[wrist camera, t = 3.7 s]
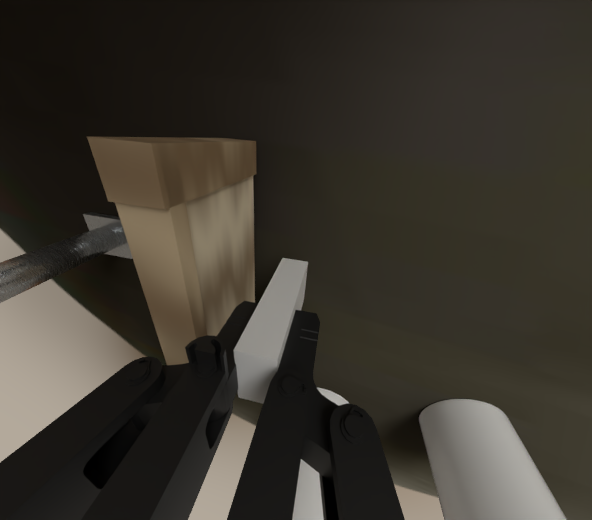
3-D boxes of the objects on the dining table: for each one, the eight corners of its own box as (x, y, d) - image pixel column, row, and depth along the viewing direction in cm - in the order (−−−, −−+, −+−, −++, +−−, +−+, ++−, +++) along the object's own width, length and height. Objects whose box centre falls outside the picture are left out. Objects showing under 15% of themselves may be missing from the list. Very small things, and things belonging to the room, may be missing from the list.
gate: (261, 327, 20) (216, 426, 13) (236, 322, 20) (180, 416, 13) (262, 141, 13) (162, 144, 6) (223, 138, 13) (86, 136, 6)
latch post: (90, 212, 19) (-239, 305, 8) (127, 217, 18) (-171, 325, 8) (104, 249, 21) (-151, 366, 10) (138, 256, 20) (-91, 385, 10)
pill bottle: (503, 445, 23) (616, 664, 13) (420, 439, 25) (465, 621, 16) (513, 399, 20) (670, 643, 10) (416, 396, 22) (470, 594, 12)
